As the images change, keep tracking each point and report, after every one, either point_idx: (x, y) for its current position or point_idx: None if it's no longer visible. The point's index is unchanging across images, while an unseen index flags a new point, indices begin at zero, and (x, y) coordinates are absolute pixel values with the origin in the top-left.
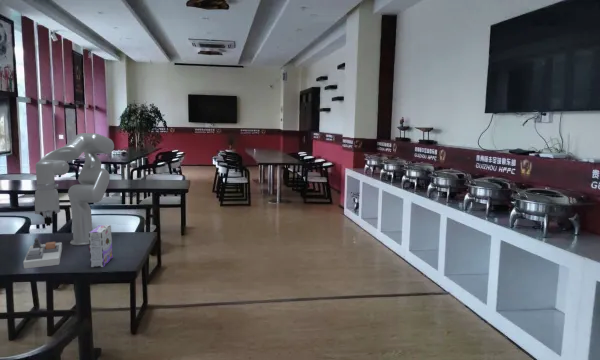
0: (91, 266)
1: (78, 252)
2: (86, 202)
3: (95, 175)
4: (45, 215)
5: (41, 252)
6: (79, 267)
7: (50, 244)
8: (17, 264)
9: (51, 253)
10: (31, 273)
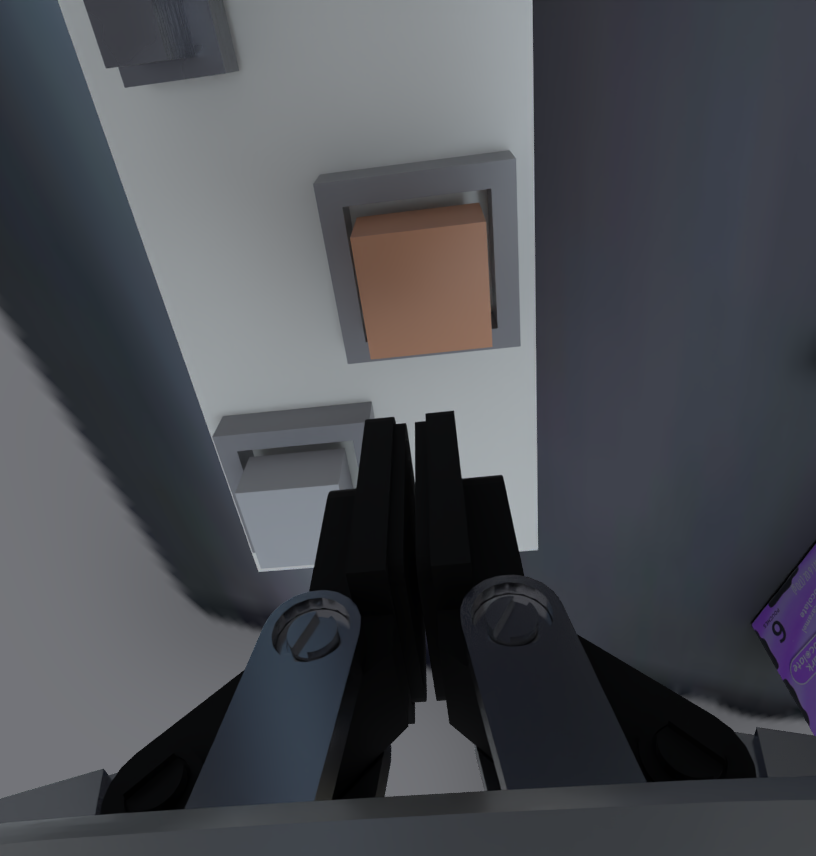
0: (758, 629)
1: (734, 121)
2: None
3: None
4: (366, 793)
5: (360, 454)
6: (675, 604)
7: (434, 348)
8: (158, 403)
9: (448, 376)
10: None
